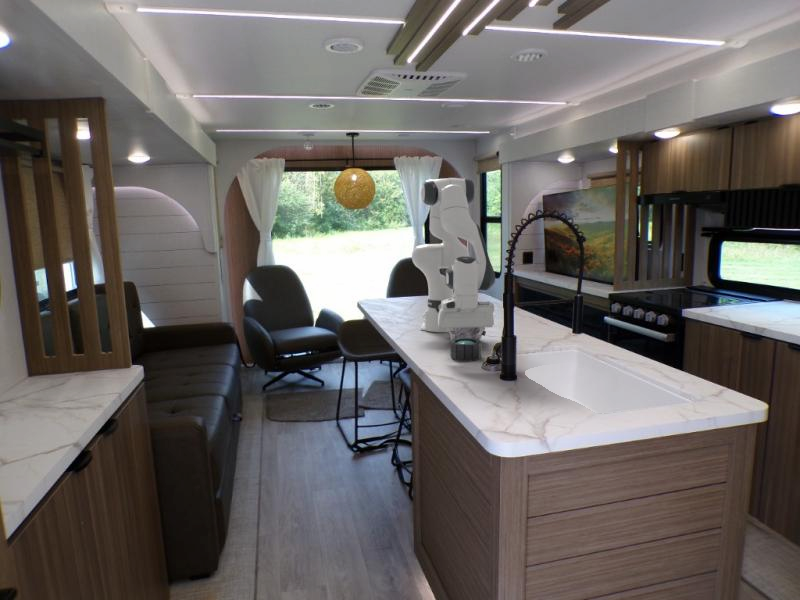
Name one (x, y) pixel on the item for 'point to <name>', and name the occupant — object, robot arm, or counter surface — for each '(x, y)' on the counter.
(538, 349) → the counter surface
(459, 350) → the grey short cylinder
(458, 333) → the rock
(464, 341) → the teal cube
